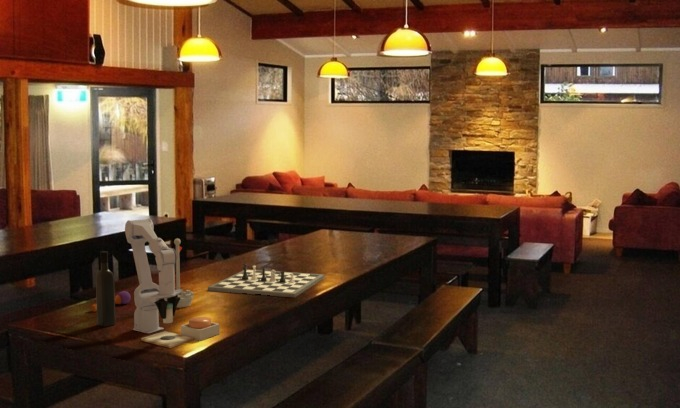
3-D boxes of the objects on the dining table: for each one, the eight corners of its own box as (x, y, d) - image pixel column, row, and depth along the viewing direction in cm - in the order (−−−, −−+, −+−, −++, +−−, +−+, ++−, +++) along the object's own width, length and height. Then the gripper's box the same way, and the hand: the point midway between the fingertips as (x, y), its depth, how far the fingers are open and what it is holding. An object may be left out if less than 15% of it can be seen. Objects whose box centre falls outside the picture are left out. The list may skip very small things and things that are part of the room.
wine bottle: (108, 322, 303) (106, 249, 299) (116, 324, 299) (114, 251, 296) (96, 325, 298) (93, 251, 295) (104, 327, 295) (101, 253, 291)
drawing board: (141, 340, 278) (140, 338, 278) (165, 332, 288) (165, 330, 288) (170, 348, 269) (170, 345, 269) (194, 340, 279) (194, 337, 279)
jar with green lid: (160, 322, 277) (160, 304, 276) (168, 320, 280) (167, 302, 279) (167, 324, 275) (167, 305, 274) (175, 321, 278) (174, 303, 277)
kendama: (87, 302, 320) (123, 289, 337) (90, 315, 320) (125, 302, 337) (96, 301, 317) (131, 289, 333) (99, 314, 317) (134, 301, 334)
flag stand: (186, 308, 324) (185, 241, 321) (158, 307, 327) (157, 240, 323) (198, 301, 337) (196, 236, 334) (171, 300, 340) (169, 235, 336)
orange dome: (184, 329, 284) (184, 320, 284) (200, 324, 291) (200, 315, 290) (200, 333, 279) (199, 324, 279) (215, 327, 286) (215, 319, 286)
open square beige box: (180, 335, 284) (180, 325, 284) (200, 329, 292) (200, 319, 292) (200, 340, 278) (200, 330, 278) (219, 334, 287) (219, 324, 286)
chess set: (207, 292, 359) (207, 269, 357) (245, 273, 401) (245, 253, 400) (294, 299, 346) (294, 275, 344) (324, 279, 388) (324, 257, 387)
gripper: (159, 286, 268) (160, 323, 269) (188, 279, 280) (189, 314, 281) (146, 283, 272) (147, 320, 273) (175, 277, 284) (176, 311, 285)
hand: (167, 317), depth 277 cm, fingers closed on jar with green lid, 4 cm apart
